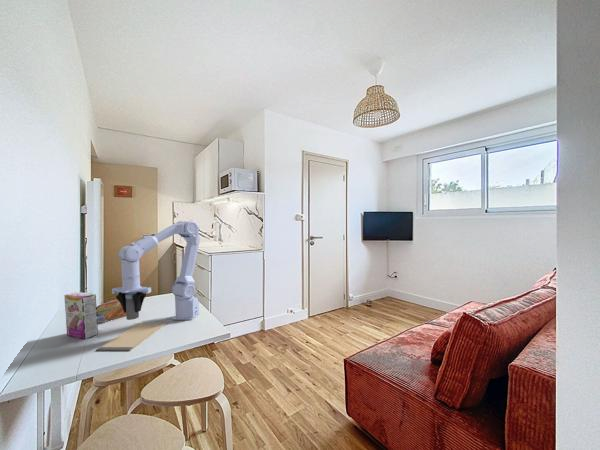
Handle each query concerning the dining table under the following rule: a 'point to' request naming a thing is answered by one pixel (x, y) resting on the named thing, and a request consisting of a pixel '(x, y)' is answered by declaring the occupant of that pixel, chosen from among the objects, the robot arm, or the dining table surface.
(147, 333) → the notepad
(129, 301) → the blue grey cylinder
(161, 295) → the dining table surface
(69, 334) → the candy bar box
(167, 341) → the dining table surface
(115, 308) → the tin
